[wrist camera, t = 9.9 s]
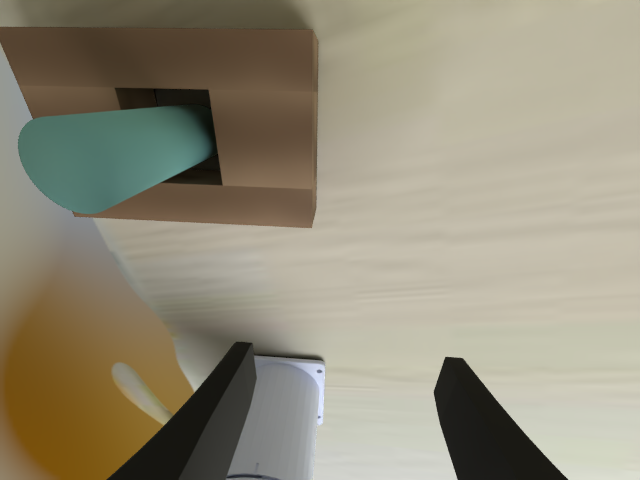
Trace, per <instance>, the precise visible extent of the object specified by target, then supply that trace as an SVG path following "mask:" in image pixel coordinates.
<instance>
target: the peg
mask: <svg viewBox="0 0 640 480" xmlns="http://www.w3.org/2000/svg"><path fill="white" fill-rule="evenodd" d="M18 149H19V156H20V159H21V162H22V164H23V167H24V169H25V171H26V173H27V174H28V176H29V177H30V179H31V180H32V182H33V183H34V184H35V185H36V187H37V188H38V189H39V190H40V191H41V192H42V193H43V194H44V195H46V196H47V197H48V198H49V199H51V200H52V201H53V202H55V203H57V204H58V205H60V206H62V207H64V208H66V209H68V210H71V211H74V212H77V213H82V214H95V213H99V212H102V211H104V210H106V209H108V208H110V207H112V206H114V205H116V204H118V203H120V202H122V201H124V200H126V199H128V198H130V197H132V196H134V195H136V194H138V193H140V192H142V191H144V190H146V189H148V188H150V187H152V186H154V185H156V184H158V183H160V182H162V181H164V180H166V179H168V178H170V177H172V176H174V175H176V174H178V173H180V172H182V171H184V170H186V169H188V168H190V167H192V166H194V165H196V164H198V163H200V162H202V161H204V160H206V159H208V158H210V157H212V156H214V155H216V154H217V153H218V150H217V143H216V136H215V129H214V123H213V116H212V110H210V109H209V108H207V107H205V106H203V105H199V104H187V105H176V106H164V107H152V108H141V109H129V110H117V111H106V112H94V113H82V114H70V115H59V116H47V117H39V118H35V119H33V120H31V121H29V122H28V123H27V124H26V125H25V126H24V127H23V128H22V130H21V132H20V135H19V139H18Z"/></svg>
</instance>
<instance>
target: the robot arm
mask: <svg viewBox="0 0 640 480" xmlns="http://www.w3.org/2000/svg"><path fill="white" fill-rule="evenodd" d="M324 382H325V363H324V362H323V361H320V360H307V359H294V358H281V357H267V356H254V353H253V345H252V343H247V342H236V343H234V344H233V346H232V347H231V348H230V350H229V351H228V352H227V354H226V355H225V356H224V358H223V359H222V360H221V361H220V363H219V364H218V365H217V366H216V368H215V369H214V370H213V371H212V373H211V374H210V375H209V376H208V377H207V379H206V380H205V381H204V382H203V383H202V385H201V386H200V387H199V388H198V389H197V390H196V392H195V393H194V394H193V395H192V396H191V398H189V400H188V401H187V402H186V403H185V404H184V405H183V406H182V407H181V408H180V409H179V411H178V412H177V413H176V414H175V415H174V416H173V417H172V418H171V419H170V420H169V421H168V422H167V423H166V424H165V425H164V426H163V427H162V428H161V430H160V431H158V433H157V434H155V435H154V436H153V437H152V438H151V439H150V440H149V441H148V442H147V443H146V444H145V445H144V446H143V447H142V448H141V449H140V450H139V451H138V452H137V453H136V454H134V456H132V457H131V458H130V459H129V460H128V461H127V462H126V463H125V464H124V465H122V466H121V467H120V468H119V469H118V470H117V471H116V472H115V473H114V474H112V475H111V476H110V477H109V478H108V479H107V480H313V472H314V459H315V446H316V434H317V425H321V424H322V423H323V407H324ZM434 396H435V402H436V407H437V412H438V416H439V421H440V425H441V428H442V431H443V435H444V438H445V441H446V444H447V447H448V451H449V454H450V457H451V460H452V463H453V466H454V469H455V472H456V476H457V479H458V480H568V479H567V478H566V477H565V476H564V475H563V474H562V473H561V472H560V471H559V470H558V469H557V468H556V467H555V466H554V465H553V464H552V463H551V461H550V460H549V459H548V458H547V457H546V456H545V455H544V454H543V453H542V452H541V451H540V450H539V449H538V447H537V446H536V445H535V444H534V443H533V442H532V441H531V440H530V439H529V438H528V436H527V435H526V434H525V433H524V432H523V431H522V430H521V429H520V427H519V426H518V425H517V424H516V423H515V422H514V420H513V419H512V418H511V417H510V416H509V414H508V413H507V412H506V411H505V410H504V409H503V407H502V406H501V405H500V404H499V403H498V401H497V400H496V399H495V398H494V397H493V395H492V394H491V393H490V392H489V390H488V389H487V388H486V387H485V385H484V384H483V383H482V382H481V380H480V379H479V378H478V377H477V375H476V374H475V373H474V372H473V370H472V369H471V368H470V367H469V365H468V364H467V363H466V362H465V360H464V359H463V358H454V357H445V360H444V363H443V366H442V369H441V372H440V375H439V378H438V381H437V384H436V387H435V390H434Z"/></svg>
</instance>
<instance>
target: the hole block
mask: <svg viewBox="0 0 640 480" xmlns="http://www.w3.org/2000/svg"><path fill="white" fill-rule="evenodd" d="M0 43H1V45H2V47H3V50H4V52H5V54H6V57H7V59H8V61H9V64H10V66H11V68H12V71H13V73H14V76H15V78H16V80H17V83H18V85H19V87H20V90H21V92H22V94H23V96H24V99H25V101H26V104H27V106H28V108H29V111H30V113H31V115H32V118H33V119H35V118H39V117H47V116H59V115H70V114H82V113H94V112H106V111H117V110H129V109H141V108H152V107H157V104H156V99H155V95H154V91H153V88H161V89H208V90H209V96H210V102H211V109H212V116H213V123H214V129H215V136H216V143H217V150H218V156H219V163H220V170H221V171H218V170H192V169H186V170H184V171H182V172H180V173H178V174H176V175H174V176H172V177H170V178H168V179H166V180H164V181H162V182H160V183H158V184H156V185H154V186H152V187H150V188H148V189H146V190H144V191H142V192H140V193H138V194H136V195H134V196H132V197H130V198H128V199H126V200H124V201H122V202H120V203H118V204H116V205H114V206H112V207H110V208H108V209H106V210H104V211H102V212H99V213H95V214H82V213H77V212H74V211H72V212H73V214H74V216H75V217H94V218H115V219H135V220H156V221H176V222H197V223H217V224H238V225H258V226H279V227H300V228H312V224H313V220H314V216H315V211H316V184H317V106H318V39H317V37H316V35H315V33H314V31H313V29H198V28H80V27H0Z"/></svg>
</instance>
